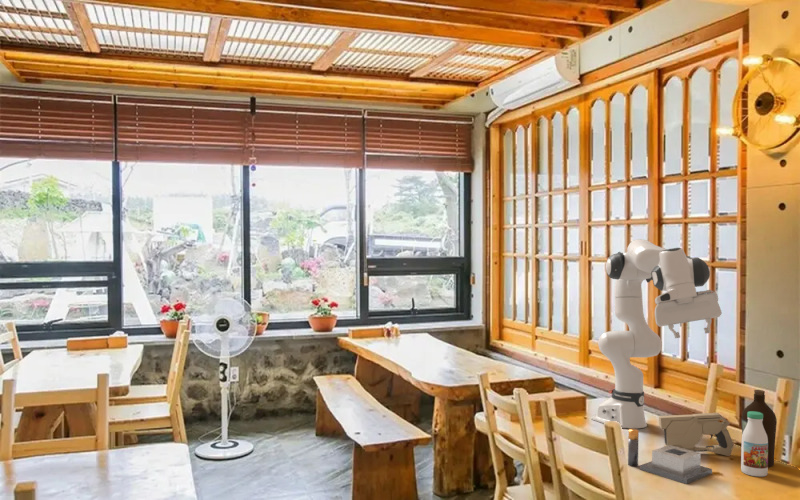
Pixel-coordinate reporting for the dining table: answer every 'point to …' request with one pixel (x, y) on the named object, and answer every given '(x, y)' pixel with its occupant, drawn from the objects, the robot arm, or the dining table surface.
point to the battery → (633, 447)
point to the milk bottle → (754, 446)
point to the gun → (696, 432)
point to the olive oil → (768, 421)
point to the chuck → (676, 464)
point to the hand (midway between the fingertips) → (692, 335)
